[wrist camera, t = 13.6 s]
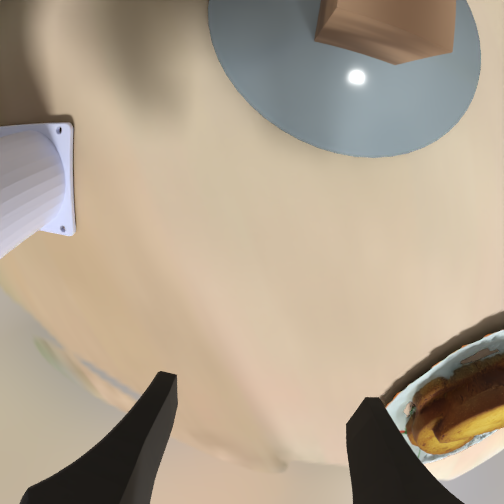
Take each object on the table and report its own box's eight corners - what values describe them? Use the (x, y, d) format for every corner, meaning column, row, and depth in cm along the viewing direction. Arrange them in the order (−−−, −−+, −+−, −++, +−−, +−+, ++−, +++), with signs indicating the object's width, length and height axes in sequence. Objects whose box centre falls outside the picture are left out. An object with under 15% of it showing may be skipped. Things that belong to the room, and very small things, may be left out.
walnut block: (313, 41, 13) (336, 7, 7) (325, -26, 10) (348, -79, 5) (394, 65, 13) (452, 52, 7) (403, -1, 11) (455, -35, 5)
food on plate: (378, 464, 35) (384, 500, 29) (346, 380, 25) (356, 441, 19) (521, 400, 28) (536, 429, 22) (557, 277, 19) (592, 313, 13)
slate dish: (191, 126, 16) (187, 128, 15) (237, -93, 9) (235, -101, 8) (447, 184, 16) (455, 188, 15) (474, -22, 9) (482, -26, 8)
